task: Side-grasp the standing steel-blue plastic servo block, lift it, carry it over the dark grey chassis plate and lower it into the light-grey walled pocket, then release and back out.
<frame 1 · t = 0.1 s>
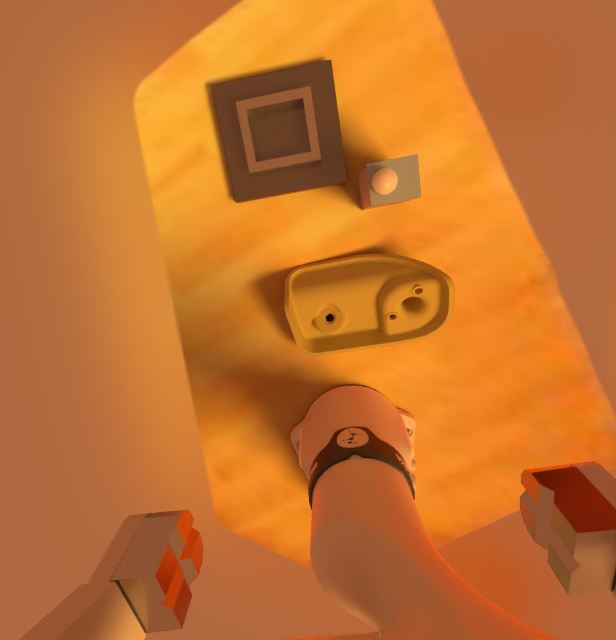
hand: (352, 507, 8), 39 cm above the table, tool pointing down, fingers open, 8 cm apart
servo: (379, 189, 43), on the table
chassis: (282, 137, 42), on the table
plastic component: (362, 302, 47), on the table
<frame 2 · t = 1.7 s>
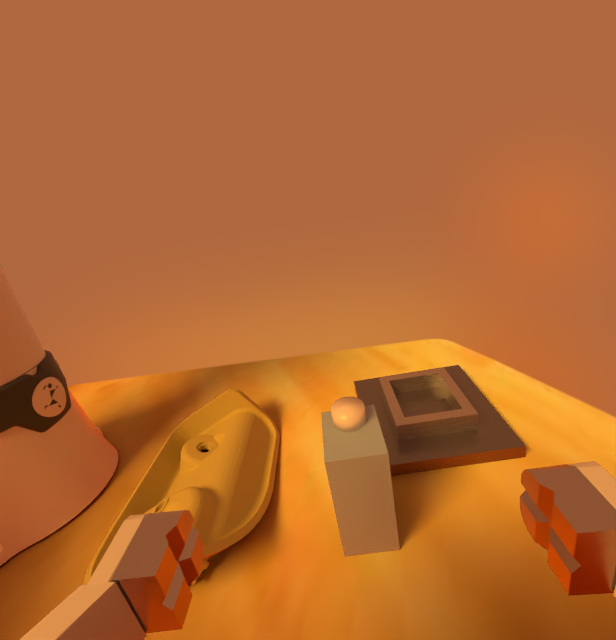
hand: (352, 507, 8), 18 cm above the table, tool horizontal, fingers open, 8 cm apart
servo: (366, 521, 27), on the table
chassis: (424, 416, 37), on the table
plastic component: (206, 507, 32), on the table
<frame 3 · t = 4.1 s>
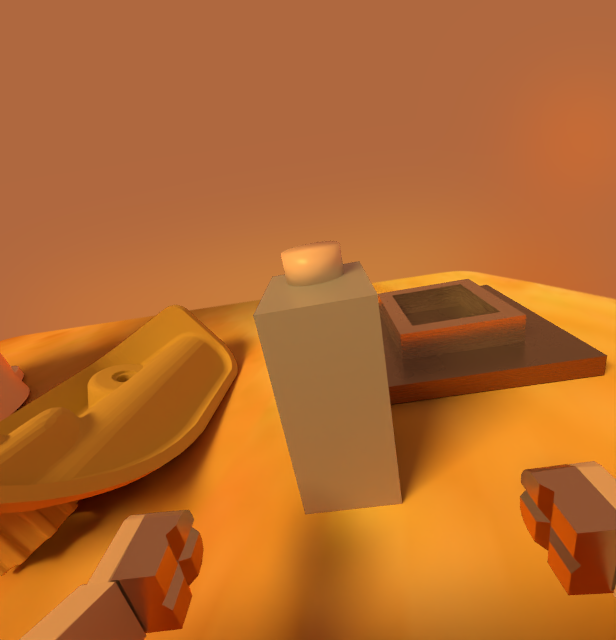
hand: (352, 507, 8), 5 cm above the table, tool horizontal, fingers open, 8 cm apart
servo: (348, 462, 16), on the table
chassis: (440, 339, 26), on the table
plastic component: (108, 455, 21), on the table
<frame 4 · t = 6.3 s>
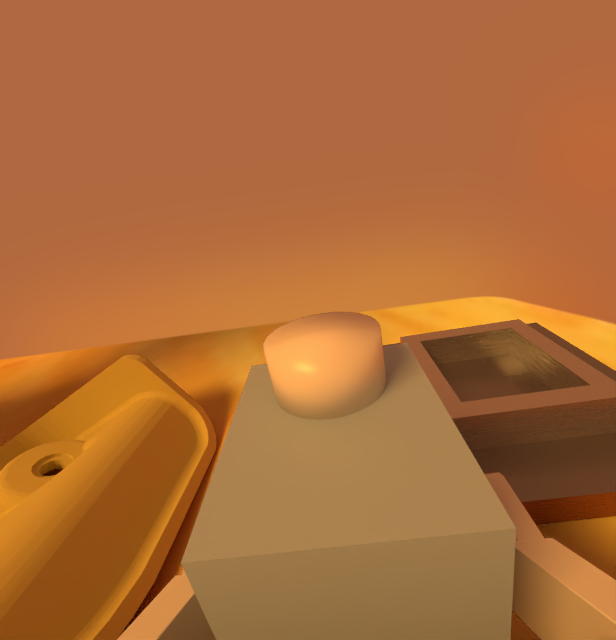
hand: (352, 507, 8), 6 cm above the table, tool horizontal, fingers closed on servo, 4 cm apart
chassis: (489, 406, 19), on the table
plastic component: (12, 607, 14), on the table
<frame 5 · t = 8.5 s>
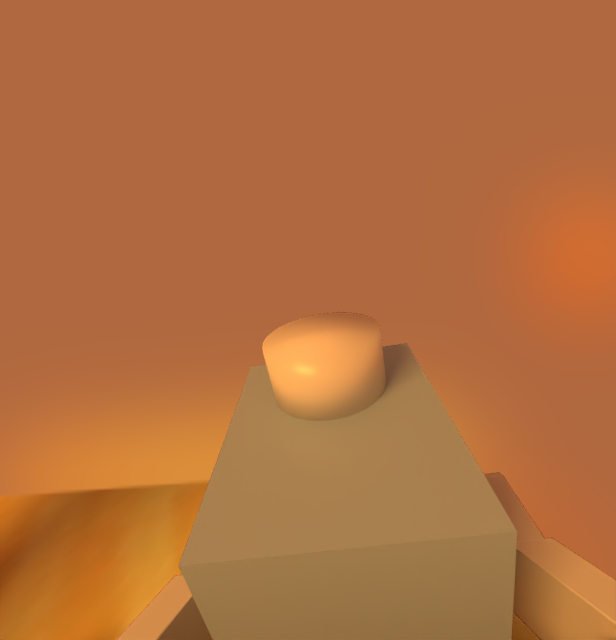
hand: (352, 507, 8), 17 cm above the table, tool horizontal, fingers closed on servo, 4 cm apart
when the fingers open (8 cm above the table, at t = 11.2 s): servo stays where it is, resting on chassis.
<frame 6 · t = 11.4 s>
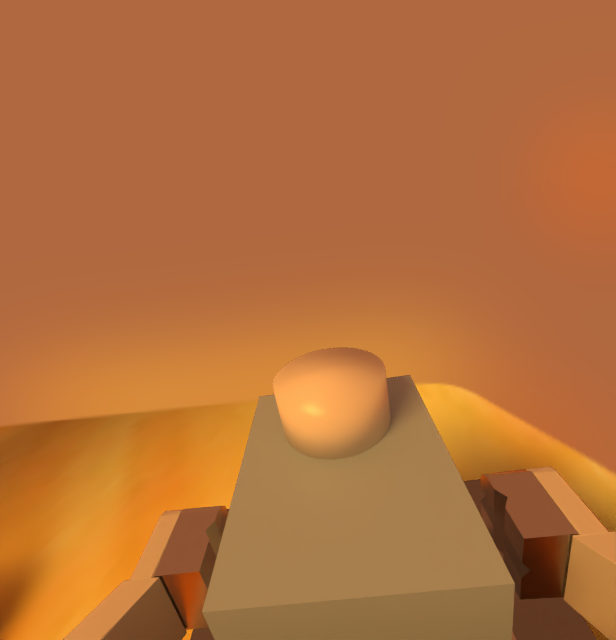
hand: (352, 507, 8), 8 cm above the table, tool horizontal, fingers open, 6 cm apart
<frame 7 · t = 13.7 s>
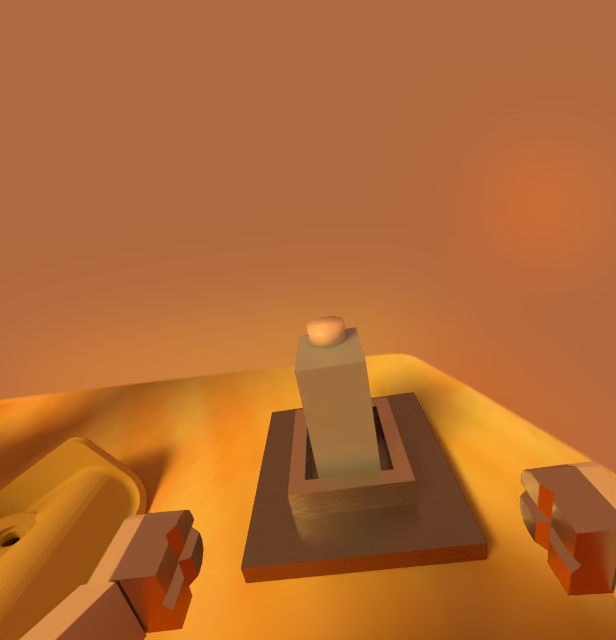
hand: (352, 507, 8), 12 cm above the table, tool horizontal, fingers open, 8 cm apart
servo: (348, 459, 25), point 1 cm above the table, touching chassis
chassis: (350, 471, 25), on the table
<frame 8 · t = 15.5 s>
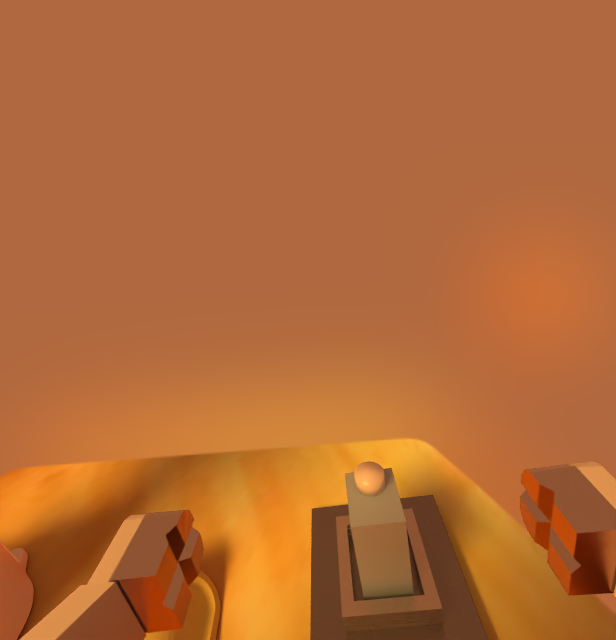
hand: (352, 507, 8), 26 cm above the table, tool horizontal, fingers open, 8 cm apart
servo: (383, 570, 30), point 1 cm above the table, touching chassis
chassis: (384, 578, 31), on the table
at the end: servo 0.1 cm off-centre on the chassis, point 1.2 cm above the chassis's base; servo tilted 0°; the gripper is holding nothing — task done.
